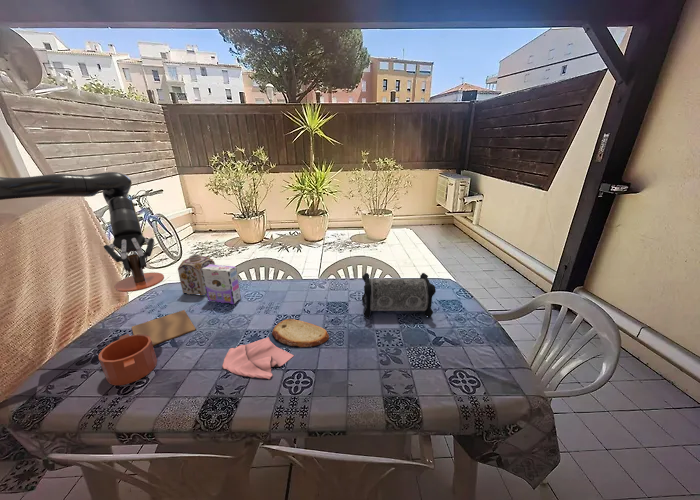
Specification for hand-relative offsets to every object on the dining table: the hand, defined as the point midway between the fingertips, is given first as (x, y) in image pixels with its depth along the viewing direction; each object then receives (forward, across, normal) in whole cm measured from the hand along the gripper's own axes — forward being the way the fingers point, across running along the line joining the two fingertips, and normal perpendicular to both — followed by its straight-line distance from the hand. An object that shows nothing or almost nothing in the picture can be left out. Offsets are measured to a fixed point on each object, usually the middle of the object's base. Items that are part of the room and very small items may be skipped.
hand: (136, 269), depth 87 cm
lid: (+3, 0, -5) cm, 6 cm away
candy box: (+9, -27, -32) cm, 43 cm away
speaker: (+47, -84, +6) cm, 96 cm away
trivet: (+15, -3, -25) cm, 29 cm away
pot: (+28, +7, -12) cm, 31 cm away
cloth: (+42, -26, +2) cm, 49 cm away
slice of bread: (+40, -43, 0) cm, 58 cm away
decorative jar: (-3, -20, -44) cm, 49 cm away
